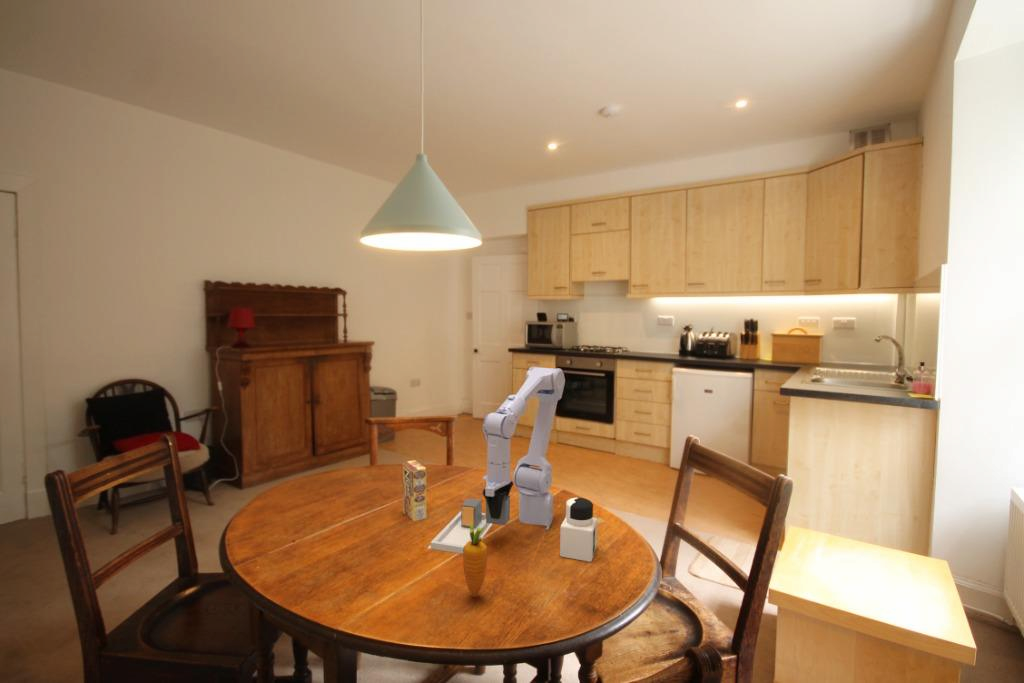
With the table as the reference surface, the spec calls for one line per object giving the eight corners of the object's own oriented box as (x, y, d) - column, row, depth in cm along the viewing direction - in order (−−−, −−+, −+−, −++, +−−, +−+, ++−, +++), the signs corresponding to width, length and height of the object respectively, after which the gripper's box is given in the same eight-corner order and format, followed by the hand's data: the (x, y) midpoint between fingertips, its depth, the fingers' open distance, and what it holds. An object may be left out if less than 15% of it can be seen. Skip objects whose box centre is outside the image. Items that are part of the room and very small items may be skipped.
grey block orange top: (505, 525, 115) (505, 501, 114) (484, 522, 116) (484, 499, 116) (509, 518, 118) (510, 495, 118) (489, 516, 120) (489, 493, 120)
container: (596, 547, 117) (597, 497, 117) (591, 562, 110) (592, 508, 109) (566, 542, 120) (567, 493, 119) (559, 556, 113) (560, 504, 112)
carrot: (462, 590, 98) (463, 520, 97) (486, 589, 99) (487, 520, 98) (462, 605, 93) (463, 531, 92) (487, 604, 94) (488, 531, 93)
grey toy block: (481, 521, 130) (481, 499, 129) (474, 529, 124) (474, 507, 124) (468, 519, 131) (468, 498, 130) (460, 527, 125) (460, 505, 125)
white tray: (495, 523, 130) (495, 514, 130) (469, 558, 111) (469, 548, 111) (458, 518, 133) (458, 510, 133) (427, 552, 114) (427, 542, 114)
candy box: (427, 521, 131) (427, 467, 130) (413, 524, 129) (413, 470, 128) (415, 510, 139) (415, 459, 138) (401, 513, 136) (401, 461, 136)
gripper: (492, 451, 125) (492, 501, 125) (473, 468, 111) (473, 524, 111) (518, 454, 123) (517, 504, 123) (501, 471, 109) (501, 528, 109)
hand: (498, 514), depth 117 cm, fingers closed on grey block orange top, 4 cm apart
